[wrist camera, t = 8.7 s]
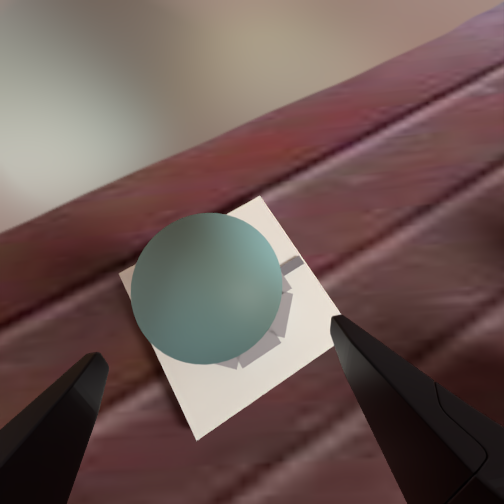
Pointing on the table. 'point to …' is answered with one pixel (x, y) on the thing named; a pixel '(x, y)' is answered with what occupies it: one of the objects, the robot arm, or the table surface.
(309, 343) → the hub plate
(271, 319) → the teal capped wooden cylinder
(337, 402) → the table surface
